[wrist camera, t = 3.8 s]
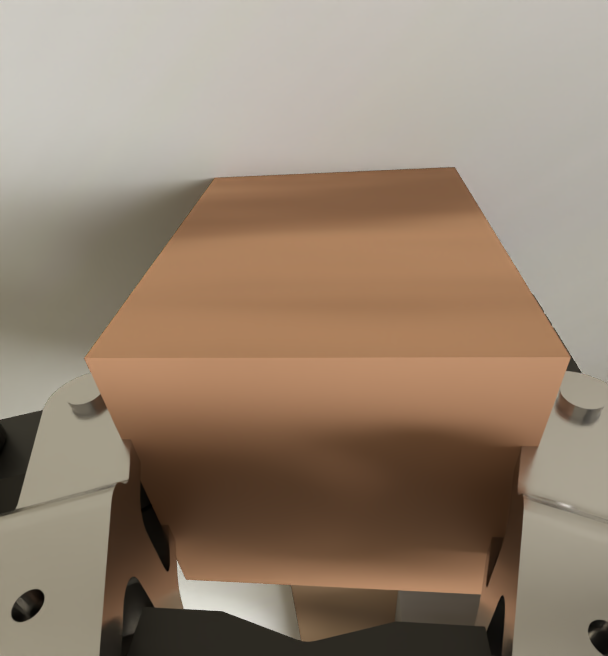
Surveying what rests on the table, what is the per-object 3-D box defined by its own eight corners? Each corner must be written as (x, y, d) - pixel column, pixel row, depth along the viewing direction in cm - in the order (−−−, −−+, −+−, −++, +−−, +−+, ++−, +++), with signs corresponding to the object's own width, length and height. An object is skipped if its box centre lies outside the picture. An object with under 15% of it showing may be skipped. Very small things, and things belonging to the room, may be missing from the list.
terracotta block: (214, 177, 10) (83, 357, 5) (454, 166, 9) (571, 356, 4) (247, 357, 13) (186, 579, 8) (430, 356, 12) (485, 594, 7)
